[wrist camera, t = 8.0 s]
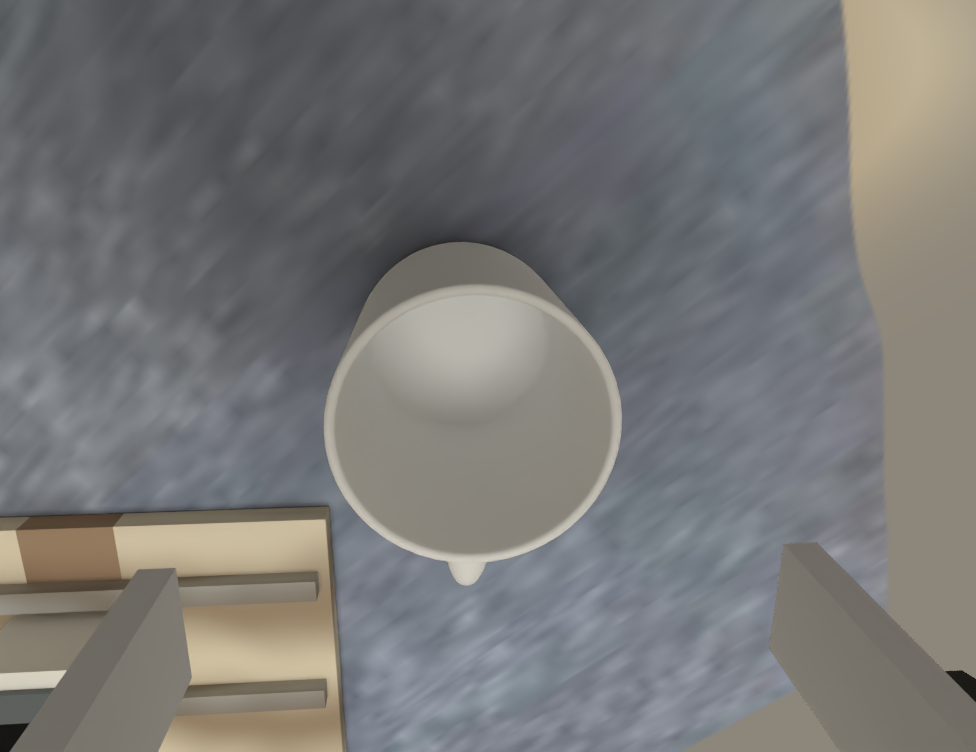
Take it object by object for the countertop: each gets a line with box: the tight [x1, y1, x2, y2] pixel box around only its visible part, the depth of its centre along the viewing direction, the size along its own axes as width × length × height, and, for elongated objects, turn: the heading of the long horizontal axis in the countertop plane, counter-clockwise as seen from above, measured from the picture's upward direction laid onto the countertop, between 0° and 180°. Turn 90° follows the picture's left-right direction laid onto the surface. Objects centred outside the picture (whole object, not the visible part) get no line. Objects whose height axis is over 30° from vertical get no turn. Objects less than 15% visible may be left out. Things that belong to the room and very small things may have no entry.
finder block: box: [0, 610, 109, 725], centre depth 30 cm, size 4×6×4 cm, turn 90°
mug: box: [324, 242, 622, 585], centre depth 26 cm, size 9×12×11 cm
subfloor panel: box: [0, 506, 347, 752], centre depth 34 cm, size 20×16×2 cm
